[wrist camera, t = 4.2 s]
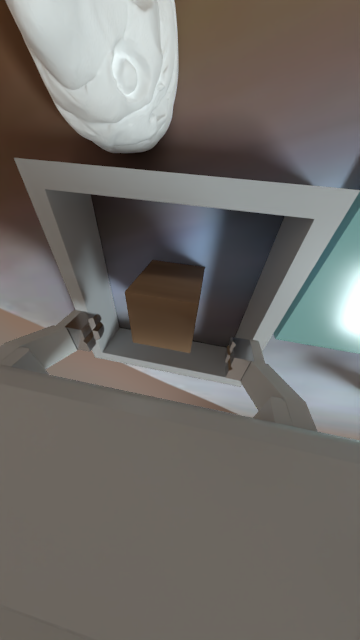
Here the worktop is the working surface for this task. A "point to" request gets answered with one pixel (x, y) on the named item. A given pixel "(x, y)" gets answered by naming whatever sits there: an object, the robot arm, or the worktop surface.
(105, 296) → the grey bin
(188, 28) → the worktop surface
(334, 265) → the teal tile
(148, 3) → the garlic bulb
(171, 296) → the walnut block
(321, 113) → the worktop surface
